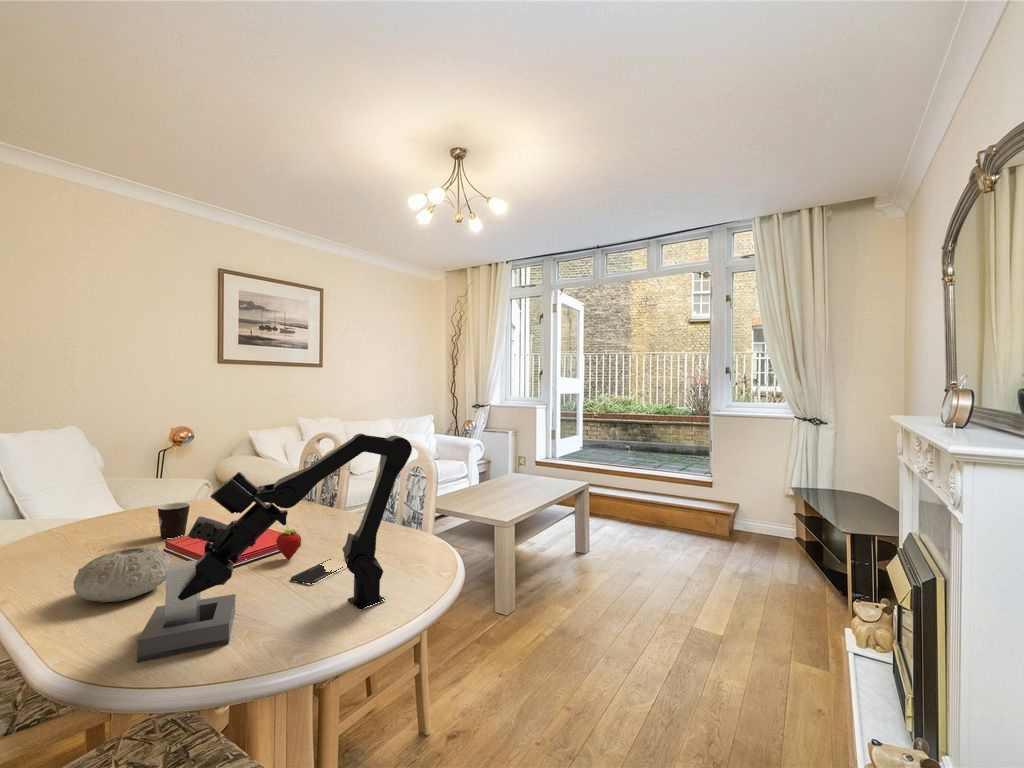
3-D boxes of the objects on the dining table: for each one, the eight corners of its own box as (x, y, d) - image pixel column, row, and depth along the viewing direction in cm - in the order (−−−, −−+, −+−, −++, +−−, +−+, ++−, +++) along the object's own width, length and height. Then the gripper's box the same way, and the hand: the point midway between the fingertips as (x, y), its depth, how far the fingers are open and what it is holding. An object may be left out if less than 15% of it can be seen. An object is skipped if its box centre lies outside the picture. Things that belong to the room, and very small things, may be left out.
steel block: (199, 622, 93) (201, 559, 93) (195, 634, 89) (197, 567, 89) (169, 628, 91) (171, 563, 91) (163, 640, 86) (166, 572, 87)
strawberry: (288, 565, 127) (289, 529, 127) (270, 560, 130) (271, 525, 131) (306, 558, 133) (307, 524, 133) (288, 554, 136) (289, 520, 136)
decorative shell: (51, 615, 97) (53, 568, 98) (102, 581, 114) (103, 542, 115) (149, 606, 102) (150, 561, 102) (183, 575, 119) (184, 537, 119)
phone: (353, 562, 128) (312, 582, 114) (353, 566, 128) (312, 587, 114) (331, 558, 131) (288, 577, 117) (331, 562, 131) (288, 582, 117)
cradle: (235, 612, 100) (235, 593, 100) (228, 644, 87) (229, 623, 88) (155, 626, 94) (156, 606, 94) (136, 662, 81) (137, 640, 81)
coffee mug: (160, 533, 152) (161, 504, 153) (191, 531, 156) (192, 501, 156) (150, 544, 142) (151, 512, 142) (183, 541, 145) (184, 510, 146)
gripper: (223, 493, 101) (160, 550, 96) (212, 514, 84) (135, 584, 79) (262, 525, 104) (203, 581, 99) (259, 550, 88) (188, 620, 83)
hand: (183, 590), depth 90 cm, fingers open, 8 cm apart
